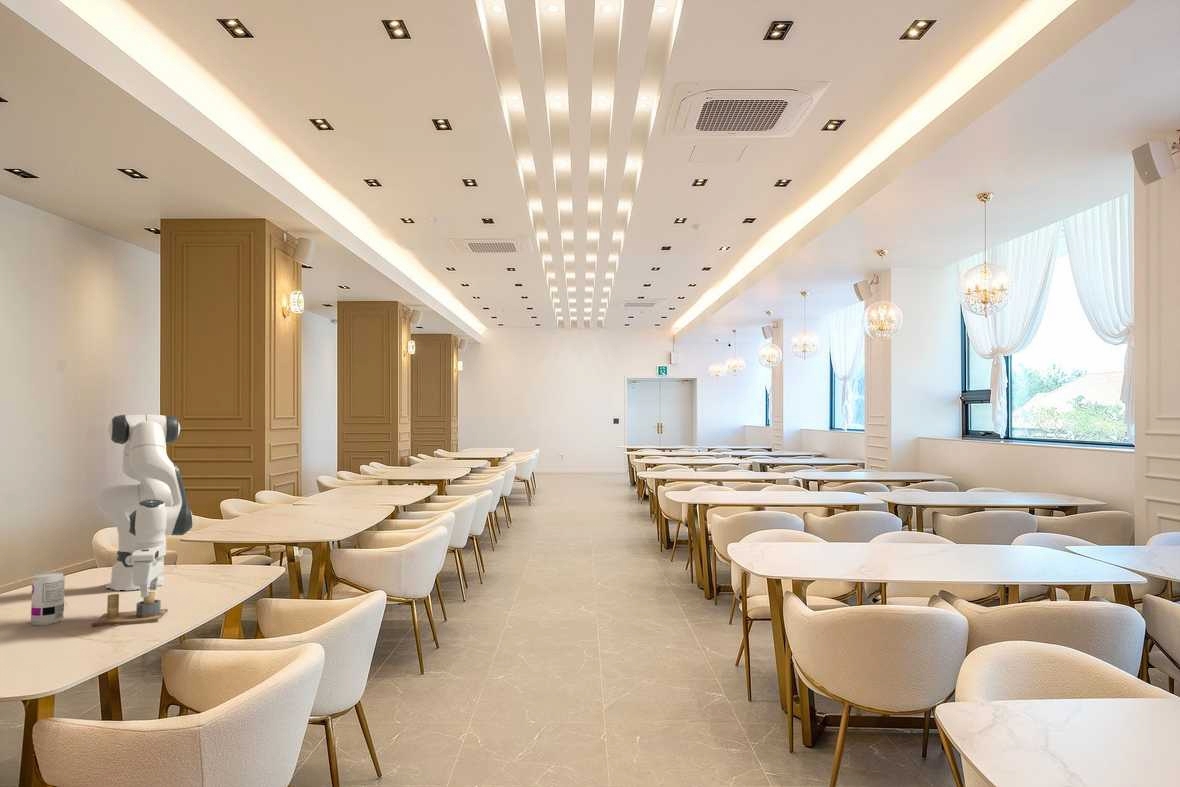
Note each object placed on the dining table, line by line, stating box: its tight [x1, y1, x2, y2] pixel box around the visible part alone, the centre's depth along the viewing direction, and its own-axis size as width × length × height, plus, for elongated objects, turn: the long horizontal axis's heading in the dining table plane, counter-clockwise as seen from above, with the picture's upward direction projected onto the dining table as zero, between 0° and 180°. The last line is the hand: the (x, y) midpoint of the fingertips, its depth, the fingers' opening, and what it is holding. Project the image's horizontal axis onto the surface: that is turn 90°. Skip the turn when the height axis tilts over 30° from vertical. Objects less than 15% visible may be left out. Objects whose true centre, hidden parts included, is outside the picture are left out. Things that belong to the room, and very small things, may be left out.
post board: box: [90, 591, 168, 628], centre depth 226 cm, size 12×18×8 cm, turn 108°
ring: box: [135, 599, 162, 618], centre depth 227 cm, size 6×6×4 cm
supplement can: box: [30, 571, 66, 626], centre depth 222 cm, size 8×8×15 cm
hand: (149, 593), depth 228 cm, fingers open, 8 cm apart
